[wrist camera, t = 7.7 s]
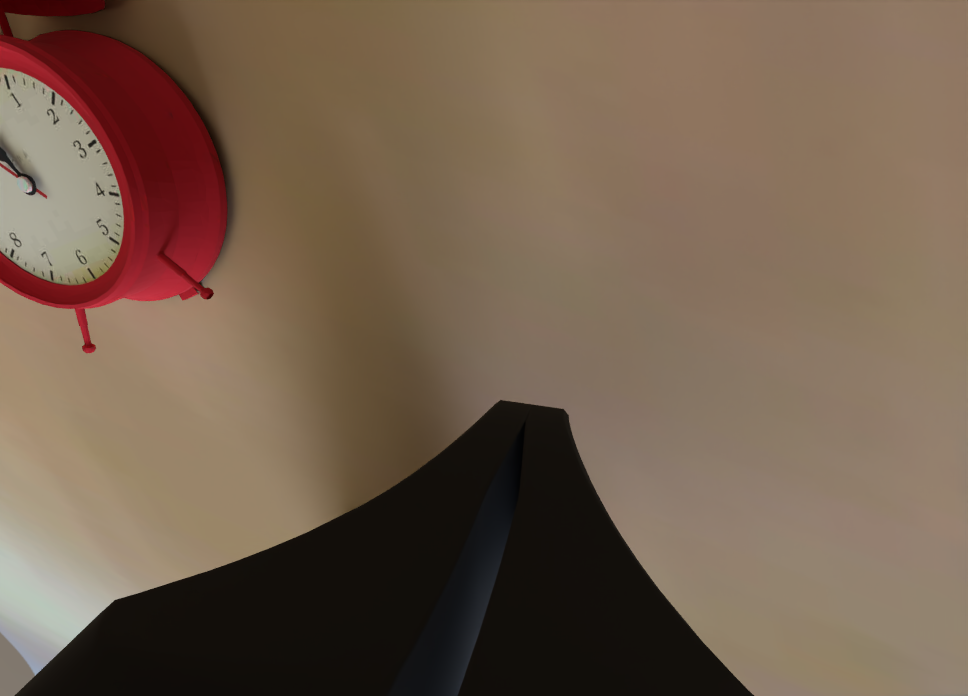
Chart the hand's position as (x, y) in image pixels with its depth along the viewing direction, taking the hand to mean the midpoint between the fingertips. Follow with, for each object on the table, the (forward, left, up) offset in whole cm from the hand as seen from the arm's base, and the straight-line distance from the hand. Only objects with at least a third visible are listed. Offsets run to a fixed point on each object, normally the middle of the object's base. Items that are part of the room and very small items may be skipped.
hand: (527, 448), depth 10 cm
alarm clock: (+5, +20, -11) cm, 23 cm away
